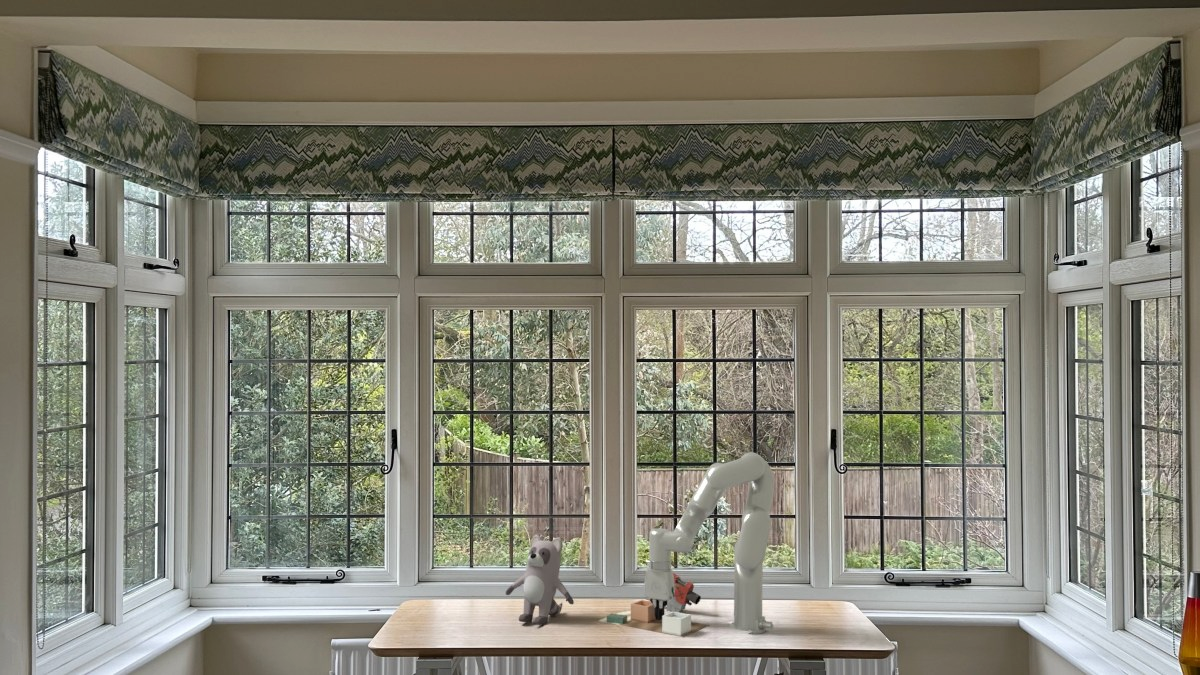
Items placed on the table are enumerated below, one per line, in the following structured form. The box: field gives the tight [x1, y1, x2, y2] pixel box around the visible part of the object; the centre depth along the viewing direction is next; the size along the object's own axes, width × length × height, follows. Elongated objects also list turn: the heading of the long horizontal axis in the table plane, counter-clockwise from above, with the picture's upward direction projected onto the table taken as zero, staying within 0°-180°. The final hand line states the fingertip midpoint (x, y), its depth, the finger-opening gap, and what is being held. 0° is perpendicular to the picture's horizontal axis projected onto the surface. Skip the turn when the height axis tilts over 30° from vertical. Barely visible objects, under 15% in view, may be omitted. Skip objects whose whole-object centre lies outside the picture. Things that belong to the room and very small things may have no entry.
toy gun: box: [666, 572, 702, 613], centre depth 342 cm, size 4×20×15 cm, turn 53°
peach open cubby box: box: [630, 599, 656, 623], centre depth 331 cm, size 7×7×6 cm
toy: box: [505, 534, 575, 626], centre depth 330 cm, size 21×21×29 cm
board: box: [597, 609, 710, 638], centre depth 326 cm, size 34×18×1 cm, turn 56°
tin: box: [606, 613, 627, 624], centre depth 327 cm, size 6×4×2 cm, turn 66°
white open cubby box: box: [661, 611, 692, 637], centre depth 315 cm, size 7×7×6 cm
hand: (659, 618), depth 327 cm, fingers closed
